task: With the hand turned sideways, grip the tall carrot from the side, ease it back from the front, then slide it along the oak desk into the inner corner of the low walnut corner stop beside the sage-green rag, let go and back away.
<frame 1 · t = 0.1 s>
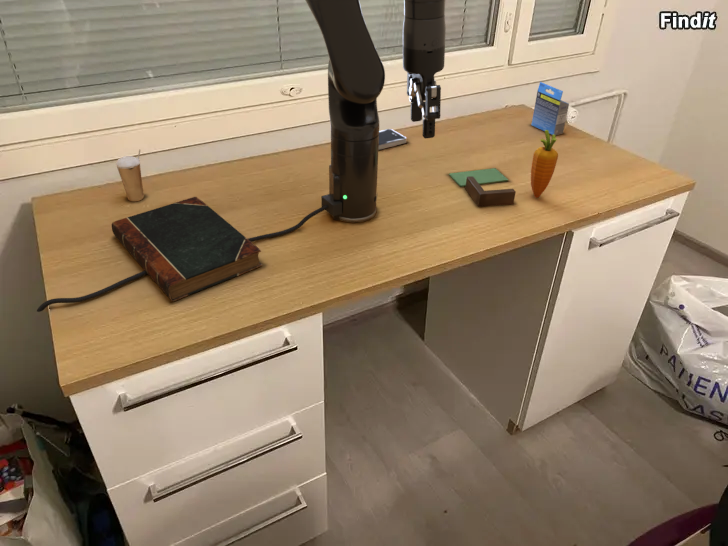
hand: (422, 128, 113), 17 cm above the table, tool pointing down, fingers open, 8 cm apart
milkshake: (137, 198, 124), on the table
carrot: (536, 198, 128), on the table
book: (186, 252, 107), on the table
corner stop: (490, 195, 128), on the table
label tape box: (546, 130, 161), on the table
rag: (478, 178, 135), on the table
smartphone: (375, 144, 150), on the table
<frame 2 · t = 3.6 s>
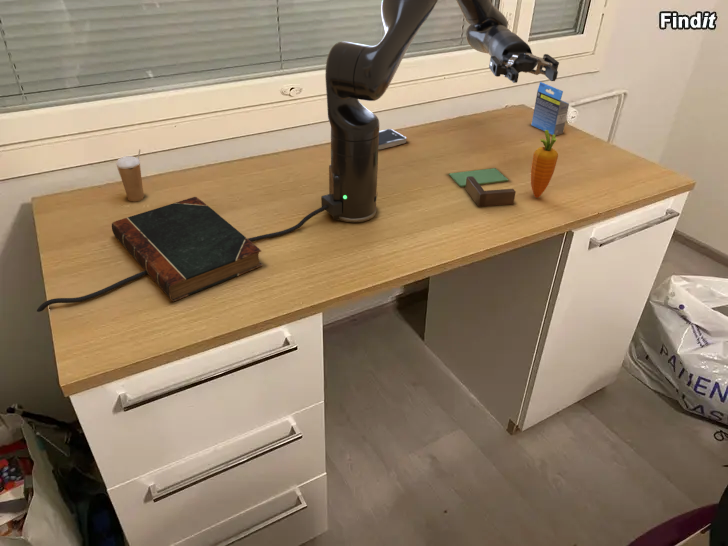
hand: (535, 77, 124), 23 cm above the table, tool horizontal, fingers open, 8 cm apart
nothing on the table moved.
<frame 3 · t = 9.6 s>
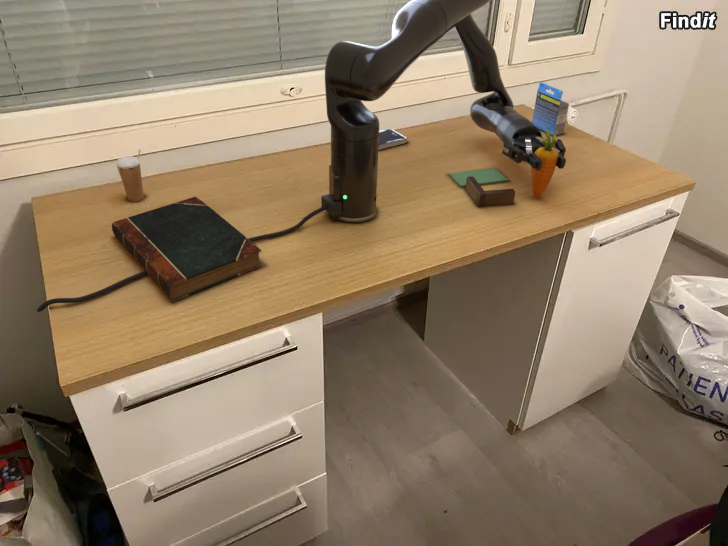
hand: (551, 165, 121), 9 cm above the table, tool horizontal, fingers closed on carrot, 4 cm apart
carrot: (536, 198, 128), on the table, touching gripper
everything else where it was.
when the fingers open (9 cm above the table, at t = 13.9 s): carrot stays where it is, on the table.
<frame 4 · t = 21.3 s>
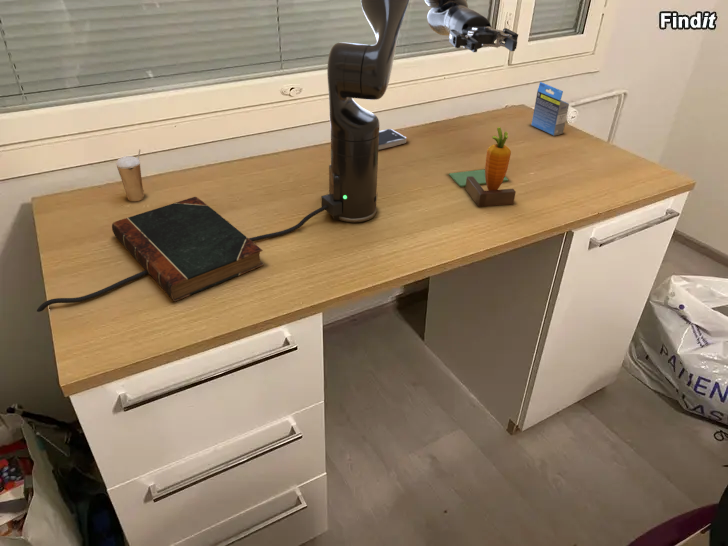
hand: (495, 46, 123), 28 cm above the table, tool horizontal, fingers open, 8 cm apart
carrot: (491, 195, 129), on the table
everything else where it was.
at the end: carrot 0.6 cm off-centre on the corner stop, point 0.0 cm above the corner stop's base; carrot tilted 0°; the gripper is holding nothing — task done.
